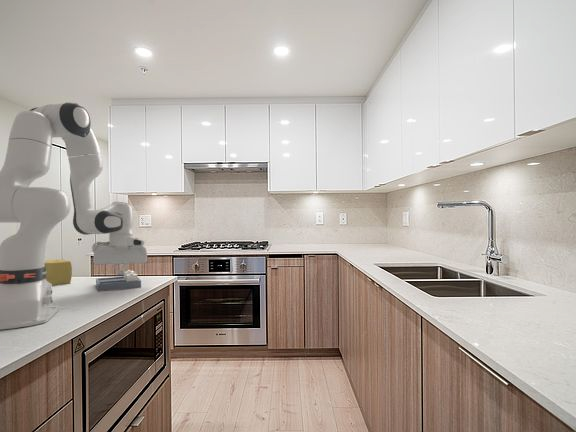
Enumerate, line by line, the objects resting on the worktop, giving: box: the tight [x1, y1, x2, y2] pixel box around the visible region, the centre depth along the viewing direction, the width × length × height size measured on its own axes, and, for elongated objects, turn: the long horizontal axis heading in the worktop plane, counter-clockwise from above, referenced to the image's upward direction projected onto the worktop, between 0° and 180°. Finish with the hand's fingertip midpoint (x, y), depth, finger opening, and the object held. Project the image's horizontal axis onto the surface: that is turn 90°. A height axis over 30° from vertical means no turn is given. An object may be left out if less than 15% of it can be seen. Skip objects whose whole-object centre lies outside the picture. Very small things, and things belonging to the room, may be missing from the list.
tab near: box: [126, 273, 138, 282], centre depth 148 cm, size 3×4×4 cm
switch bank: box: [95, 275, 142, 292], centre depth 149 cm, size 14×16×3 cm
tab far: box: [123, 269, 136, 278], centre depth 155 cm, size 3×4×4 cm
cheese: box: [45, 258, 73, 286], centre depth 153 cm, size 10×11×10 cm
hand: (120, 274), depth 145 cm, fingers closed
